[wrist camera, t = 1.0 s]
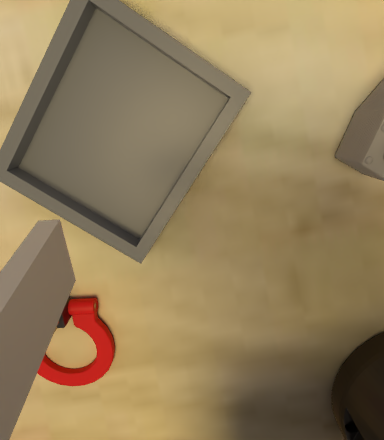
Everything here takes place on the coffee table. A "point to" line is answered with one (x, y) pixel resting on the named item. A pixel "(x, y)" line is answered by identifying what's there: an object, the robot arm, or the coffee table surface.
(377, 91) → the padlock
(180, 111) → the tray
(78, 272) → the coffee table surface
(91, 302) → the tow hook
